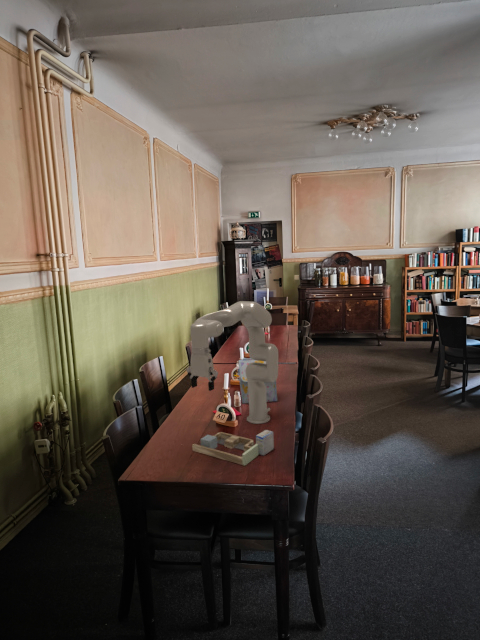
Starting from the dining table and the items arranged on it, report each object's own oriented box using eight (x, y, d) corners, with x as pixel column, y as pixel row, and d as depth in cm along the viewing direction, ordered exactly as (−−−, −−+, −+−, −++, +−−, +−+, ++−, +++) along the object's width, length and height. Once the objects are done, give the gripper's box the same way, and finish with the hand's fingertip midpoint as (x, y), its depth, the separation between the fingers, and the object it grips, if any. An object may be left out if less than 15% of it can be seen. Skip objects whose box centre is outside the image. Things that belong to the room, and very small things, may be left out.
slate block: (208, 444, 207) (207, 434, 206) (217, 446, 203) (216, 436, 203) (201, 449, 202) (200, 439, 201) (210, 451, 199) (209, 441, 198)
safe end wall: (256, 454, 194) (256, 443, 193) (258, 454, 193) (258, 444, 193) (242, 465, 185) (242, 454, 184) (244, 465, 184) (244, 454, 183)
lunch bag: (240, 406, 255) (238, 362, 250) (239, 396, 271) (237, 355, 267) (278, 403, 255) (276, 360, 251) (275, 394, 272) (273, 353, 268)
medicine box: (266, 446, 201) (265, 429, 200) (274, 449, 198) (273, 431, 197) (256, 453, 195) (255, 435, 194) (264, 456, 192) (263, 437, 191)
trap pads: (220, 438, 211) (220, 438, 211) (250, 446, 202) (250, 446, 202) (214, 442, 208) (214, 442, 208) (245, 450, 198) (245, 450, 198)
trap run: (215, 436, 215) (215, 430, 214) (263, 448, 199) (263, 442, 199) (192, 450, 200) (192, 444, 200) (242, 465, 185) (242, 458, 184)
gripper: (221, 351, 187) (223, 388, 190) (190, 347, 197) (193, 383, 199) (210, 354, 181) (213, 393, 184) (179, 351, 190) (182, 388, 193)
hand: (202, 388), depth 192 cm, fingers open, 9 cm apart
